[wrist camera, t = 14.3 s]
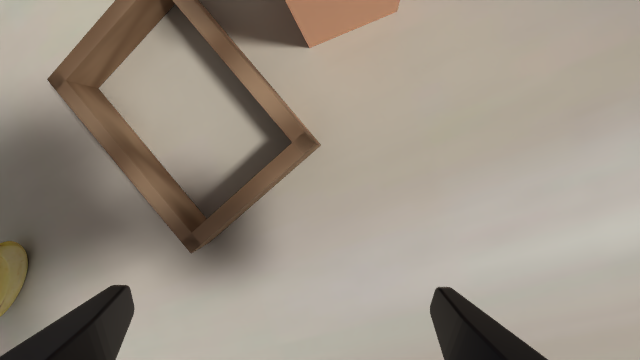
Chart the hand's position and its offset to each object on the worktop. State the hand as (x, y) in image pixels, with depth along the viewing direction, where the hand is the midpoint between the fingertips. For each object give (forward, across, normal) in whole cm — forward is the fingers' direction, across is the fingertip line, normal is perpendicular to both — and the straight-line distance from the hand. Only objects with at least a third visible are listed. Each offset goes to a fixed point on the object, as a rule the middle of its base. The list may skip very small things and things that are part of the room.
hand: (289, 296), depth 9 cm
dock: (+15, +7, -2) cm, 17 cm away
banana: (+15, +22, +12) cm, 29 cm away
